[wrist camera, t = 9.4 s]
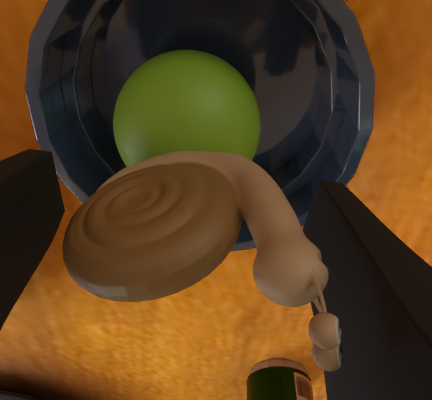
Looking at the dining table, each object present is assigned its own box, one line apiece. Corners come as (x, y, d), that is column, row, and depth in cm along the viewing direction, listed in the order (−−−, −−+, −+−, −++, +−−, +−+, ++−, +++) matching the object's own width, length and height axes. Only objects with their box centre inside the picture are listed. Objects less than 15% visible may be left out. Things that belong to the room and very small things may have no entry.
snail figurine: (287, 139, 16) (351, 429, 7) (157, 162, 18) (59, 437, 8) (271, 11, 13) (347, 225, 4) (113, 50, 14) (-129, 287, 5)
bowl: (306, 211, 20) (319, 265, 16) (89, 187, 19) (60, 238, 16) (392, -56, 12) (444, -49, 9) (45, -96, 12) (-24, -103, 9)
